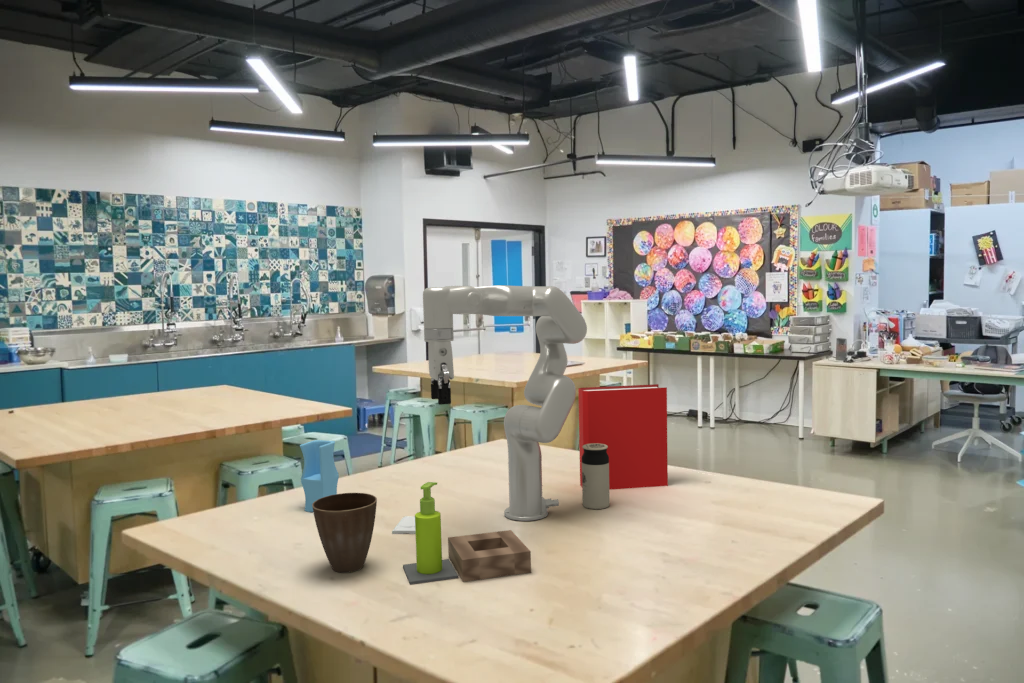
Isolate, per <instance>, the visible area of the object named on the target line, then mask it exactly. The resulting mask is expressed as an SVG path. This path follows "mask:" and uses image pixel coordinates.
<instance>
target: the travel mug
mask: <svg viewBox="0 0 1024 683" xmlns="http://www.w3.org/2000/svg"><path fill="white" fill-rule="evenodd" d="M582 447H583V449H584V453H583V455H582V487H581V489H582V490H581V492H582V496H581V498H582V506H583V507H584V508H587V509H590V510H602V509H606V508H608V507H609V506H610V504H611V503H610V499H611V498H610V490H609V456H608V454H607V448H608V446H607V445H605V444H599V443H591V444H585V445H583V446H582Z"/></svg>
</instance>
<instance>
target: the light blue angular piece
mask: <svg viewBox="0 0 1024 683" xmlns="http://www.w3.org/2000/svg"><path fill="white" fill-rule="evenodd" d="M335 444H336V441H335V440H323V439H316V440H315V439H314V440H311V441H308V442H305V443H302V444H300V445H299V447H300V450H301V453H302V456H303V462H304V463H303V471H302V474H301V477H300V482H301V485H302V488H303V492H304V498H305V500H304V502H305V504H304V512H307V513H314V512H313V507H312V504H313V503H314V502H315V501H316V500H318V499H320V498H323V497H326V496H330V495H335V494H338V482H339V477H340V474H339V472H338V469H337V467H336V463H335V458H334V452H335Z"/></svg>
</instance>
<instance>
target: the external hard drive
mask: <svg viewBox="0 0 1024 683" xmlns="http://www.w3.org/2000/svg"><path fill="white" fill-rule="evenodd" d="M391 534H392V535H416V532H415V515H410V516H408V515H405V516H402V518H401V519H400V520H399V522H398V523H397V524H396V525H395V527H394V528H393V529H392V531H391Z"/></svg>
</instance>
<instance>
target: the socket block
mask: <svg viewBox="0 0 1024 683" xmlns="http://www.w3.org/2000/svg"><path fill="white" fill-rule="evenodd" d="M447 547H448V555H447V556H448V559H449V561H450V562H451V564H452V566H453V567H454V569H455V571H456V572H457V574H458V577H460V580H461V581H462V582H471V581H478V580H484V579H485V580H486V579H493V578H499V577H500V578H501V577H507V576H515V575H522V574H523V575H524V574H529V573H530V574H531V573H532V560H531V559H532V557H531V556H532V555H531V552H532V551H531V550H530V549H529V548H528V547H527V546H526V545H525V543H524V542H523V541H522V540H521V539H520V538H519V537H518V536H517V535H516V534H515V533H514V531H512V530H511V529H508V530H500V531H492V532H484V533H475V534H466V535H458V536H449V537H447Z"/></svg>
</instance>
